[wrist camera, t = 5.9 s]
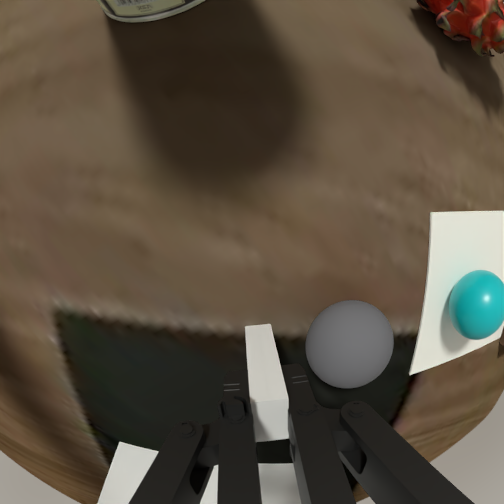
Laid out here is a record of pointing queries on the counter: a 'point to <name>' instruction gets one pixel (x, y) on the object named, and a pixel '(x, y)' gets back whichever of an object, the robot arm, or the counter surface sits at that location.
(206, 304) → the counter surface
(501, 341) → the stopper wall
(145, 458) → the white v-notch block
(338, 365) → the gray ball
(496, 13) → the dragon fruit
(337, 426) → the robot arm
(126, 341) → the counter surface
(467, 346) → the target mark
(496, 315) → the teal ball
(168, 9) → the coffee can
